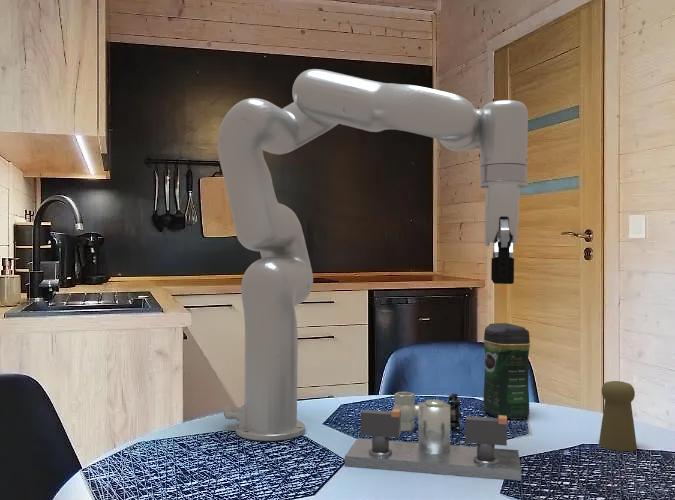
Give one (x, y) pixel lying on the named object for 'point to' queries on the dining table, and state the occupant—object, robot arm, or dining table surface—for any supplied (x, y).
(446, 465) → the plate
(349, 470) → the dining table surface
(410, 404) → the valve
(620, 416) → the cork
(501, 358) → the coffee jar
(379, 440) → the knob
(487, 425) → the knob
